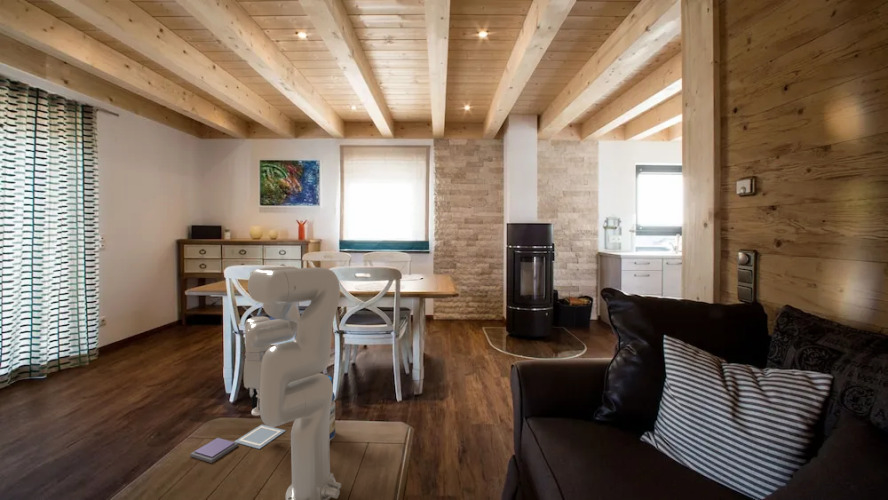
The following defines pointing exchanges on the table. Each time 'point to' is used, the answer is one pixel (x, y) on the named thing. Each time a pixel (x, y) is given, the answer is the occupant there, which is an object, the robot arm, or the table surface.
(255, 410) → the chess piece
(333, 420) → the beverage bottle
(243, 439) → the pale blue flat square
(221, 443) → the ink pad
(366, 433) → the table surface
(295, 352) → the robot arm
